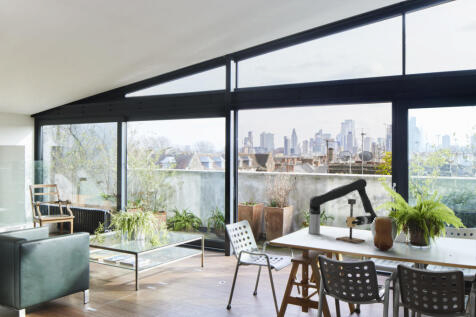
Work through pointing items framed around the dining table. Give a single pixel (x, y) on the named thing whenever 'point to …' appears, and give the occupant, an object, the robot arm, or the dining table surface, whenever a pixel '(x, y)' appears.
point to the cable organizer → (401, 237)
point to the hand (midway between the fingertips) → (349, 222)
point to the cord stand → (350, 238)
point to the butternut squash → (383, 233)
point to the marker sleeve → (350, 221)
